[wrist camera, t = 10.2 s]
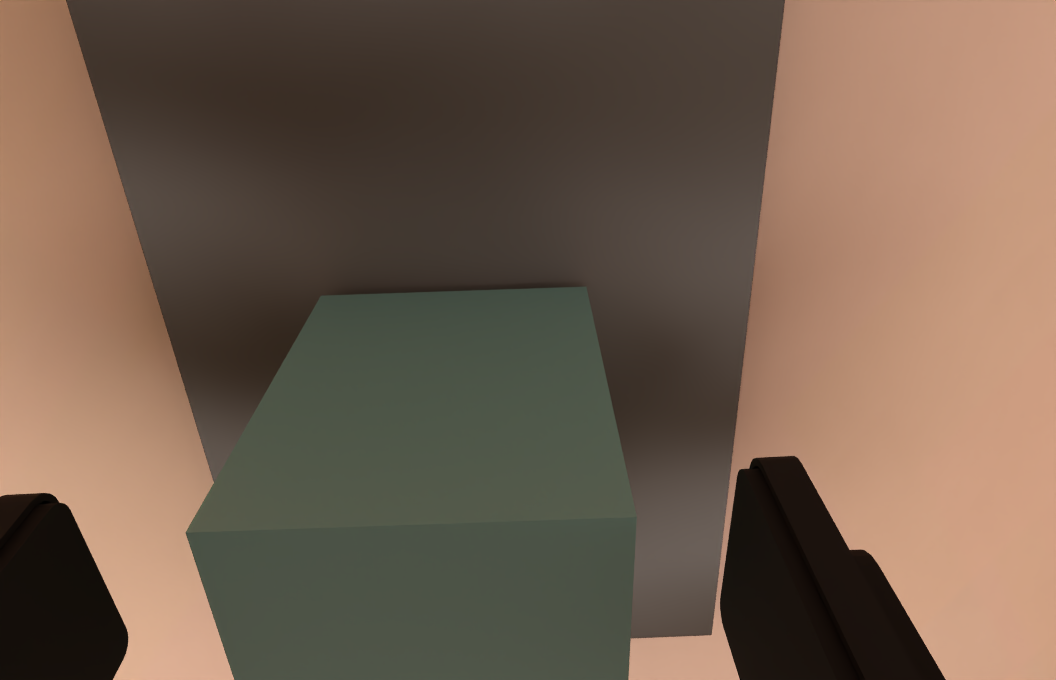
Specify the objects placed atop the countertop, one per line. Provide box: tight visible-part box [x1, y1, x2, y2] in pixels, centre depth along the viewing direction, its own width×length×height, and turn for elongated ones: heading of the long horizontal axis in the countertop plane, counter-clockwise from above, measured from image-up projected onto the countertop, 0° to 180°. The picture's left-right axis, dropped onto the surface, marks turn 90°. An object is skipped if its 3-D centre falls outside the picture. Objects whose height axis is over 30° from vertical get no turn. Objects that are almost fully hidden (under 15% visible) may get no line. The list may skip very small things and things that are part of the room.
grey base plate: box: [66, 0, 785, 638], centre depth 13 cm, size 16×12×7 cm
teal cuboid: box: [186, 287, 637, 680], centre depth 12 cm, size 5×5×7 cm
